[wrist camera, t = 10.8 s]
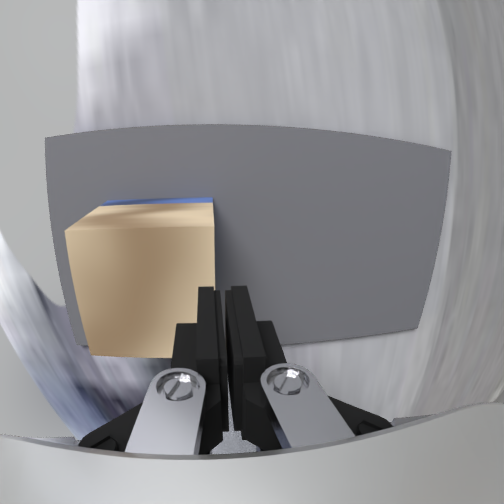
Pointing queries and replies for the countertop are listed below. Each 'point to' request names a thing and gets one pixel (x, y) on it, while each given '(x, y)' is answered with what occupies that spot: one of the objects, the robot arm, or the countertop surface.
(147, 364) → the countertop surface
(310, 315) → the mat
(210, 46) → the countertop surface
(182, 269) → the cube
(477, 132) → the countertop surface
